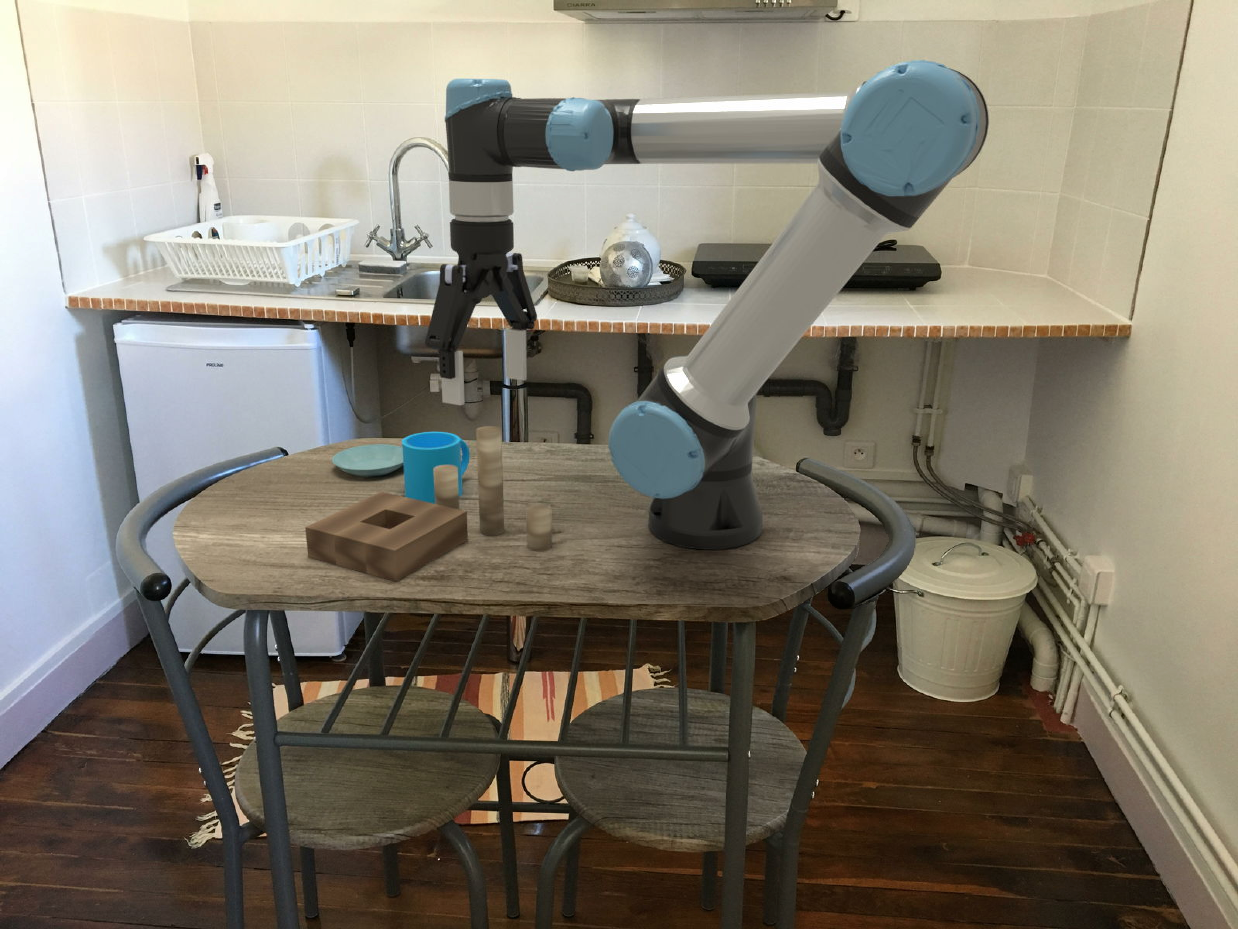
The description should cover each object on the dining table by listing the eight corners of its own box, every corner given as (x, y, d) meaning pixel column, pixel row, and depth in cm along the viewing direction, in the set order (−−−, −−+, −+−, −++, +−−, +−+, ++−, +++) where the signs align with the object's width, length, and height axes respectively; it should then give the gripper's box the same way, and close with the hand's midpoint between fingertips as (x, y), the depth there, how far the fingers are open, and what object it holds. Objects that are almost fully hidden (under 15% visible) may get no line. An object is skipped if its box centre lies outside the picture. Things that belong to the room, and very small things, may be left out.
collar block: (467, 539, 130) (466, 511, 129) (396, 581, 119) (394, 550, 117) (383, 519, 137) (381, 491, 135) (308, 557, 125) (305, 527, 124)
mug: (436, 508, 141) (433, 453, 138) (393, 497, 145) (389, 442, 142) (490, 483, 150) (488, 431, 148) (448, 473, 154) (445, 422, 152)
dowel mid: (464, 515, 138) (462, 467, 136) (450, 523, 136) (447, 474, 133) (445, 510, 140) (443, 463, 137) (431, 518, 137) (428, 470, 135)
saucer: (356, 489, 148) (355, 474, 147) (319, 468, 156) (317, 454, 155) (426, 471, 155) (425, 457, 155) (386, 452, 164) (385, 439, 163)
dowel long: (509, 529, 134) (506, 428, 129) (495, 537, 131) (492, 434, 127) (489, 524, 135) (485, 424, 131) (475, 532, 133) (471, 431, 128)
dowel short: (556, 544, 130) (556, 508, 128) (543, 553, 127) (542, 516, 125) (535, 539, 131) (535, 503, 129) (521, 548, 128) (521, 511, 127)
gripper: (513, 207, 132) (516, 365, 139) (387, 224, 111) (398, 409, 118) (563, 211, 129) (563, 373, 136) (442, 229, 108) (449, 419, 115)
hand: (486, 390), depth 127 cm, fingers open, 13 cm apart
